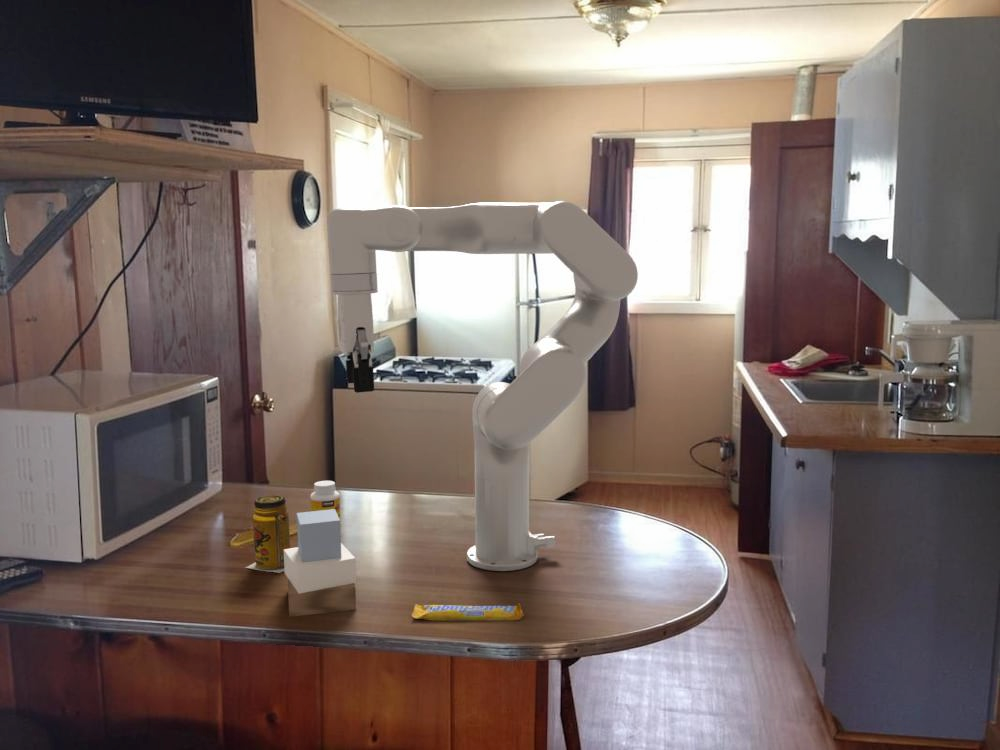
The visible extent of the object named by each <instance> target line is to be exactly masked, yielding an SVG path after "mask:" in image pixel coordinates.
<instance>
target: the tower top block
mask: <svg viewBox="0 0 1000 750" xmlns="http://www.w3.org/2000/svg"><path fill="white" fill-rule="evenodd" d="M356 561H357V560H356V557H355V556H354V555H353V554H352V553H351V551H350V550H348V548H347V547H346V546H345V545H344V544H343V543H342V542H341V558H334V559H326V560H318V561H310V562H302V561H301V557H300V554H299V550H298V546H295V547H290V548H289V549H284V569H285V570H284V575H285V576H286V577H287V580H288V579H289V580H290V582H291V583H292V585H293V586H294V588H295V589H296V591H297V592H298V594H300V593H305V592H310V591H315V590H321V589H326V588H331V587H336V586H342V585H347V584H352V583H355V584H356V583H357V566H356Z"/></svg>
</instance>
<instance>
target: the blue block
mask: <svg viewBox="0 0 1000 750" xmlns="http://www.w3.org/2000/svg"><path fill="white" fill-rule="evenodd" d="M296 526H297V527H296V528H297V530H296V531H297V547H298V550H299V554H300V557H301V561H302V562H310V561H318V560H326V559H334V558H341V543H342V540H341V539H342V538H341V536H342V535H341V534H342V533H341V529H340V528H341V518H340V519H339V517H338V515H337V513H336V510H335V509H330V510H320V511H311V510H310V511H304V512H296Z"/></svg>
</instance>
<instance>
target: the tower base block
mask: <svg viewBox="0 0 1000 750" xmlns="http://www.w3.org/2000/svg"><path fill="white" fill-rule="evenodd" d="M287 590H288V592H287V595H288V596H287V597H288V616H289V618H291V617H299V616H300V617H301V616H309V615H317V614H319V615H320V614H327V613H336V612H345V611H354V610H357V597H356V596H357V595H356V590H357V589H356V583H352V584H347V585H342V586H336V587H331V588H326V589H321V590H315V591H310V592H305V593H300V594H298V592H297V591H296V589H295V588H294V586H293V585H292V583H291V582H290V580H289V579H288V578H287Z"/></svg>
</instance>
